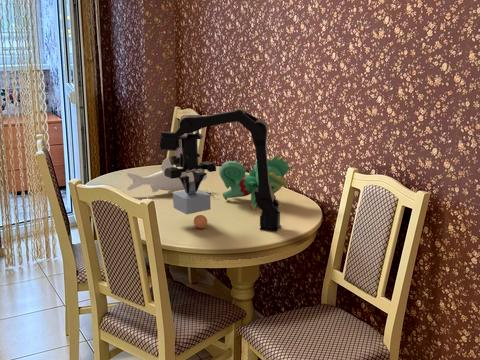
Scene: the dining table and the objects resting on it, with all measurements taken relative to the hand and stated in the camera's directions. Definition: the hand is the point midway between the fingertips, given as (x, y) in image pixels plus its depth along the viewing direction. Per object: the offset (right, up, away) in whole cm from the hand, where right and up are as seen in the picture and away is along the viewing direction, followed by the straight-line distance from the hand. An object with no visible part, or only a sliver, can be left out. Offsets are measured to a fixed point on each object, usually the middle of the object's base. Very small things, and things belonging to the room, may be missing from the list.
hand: (191, 192), depth 217 cm
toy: (+24, -5, +29) cm, 38 cm away
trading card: (+1, -3, +40) cm, 40 cm away
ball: (+3, -11, -1) cm, 11 cm away
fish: (-14, -2, +42) cm, 44 cm away
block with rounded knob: (0, -6, +2) cm, 6 cm away
